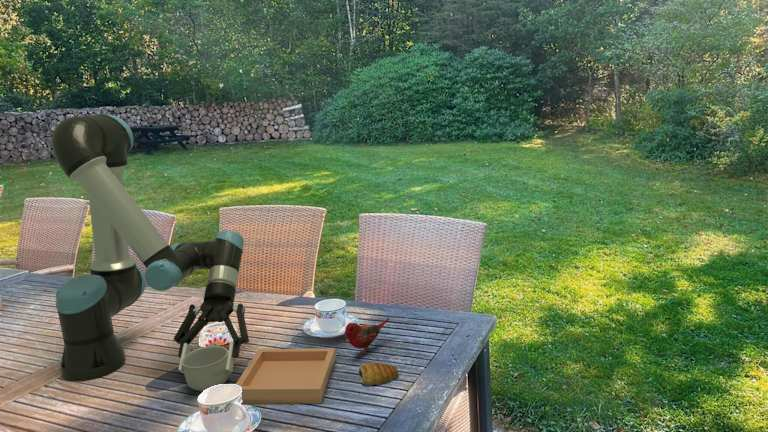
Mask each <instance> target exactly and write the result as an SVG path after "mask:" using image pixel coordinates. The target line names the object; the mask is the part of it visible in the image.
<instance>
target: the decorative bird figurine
mask: <svg viewBox="0 0 768 432" xmlns="http://www.w3.org/2000/svg"><path fill="white" fill-rule="evenodd" d="M389 320H390V317H386V318H385V319H384V320H383V321H382V322H380V323H379V324H366V325H360V324H358V323H356V322H349V323H348V324H347V325H346V327H345V330H344V333H343V335H346V337H347V339H348V342H349V344H350V345H351V346H353V347H354V348H355V349H363V350H361V351H360V352H359V353H358V354H357V356H360V355H364V354H365V353H366V352H368V351H369V350H370V349H371V348H369V346H370V345H371V344H372V343H373V342H374V340H375V339H377V337H378V336H379V333H380V330H381V329H382V327H383V326H385V324H386V323H387V322H388V321H389Z"/></svg>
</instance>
